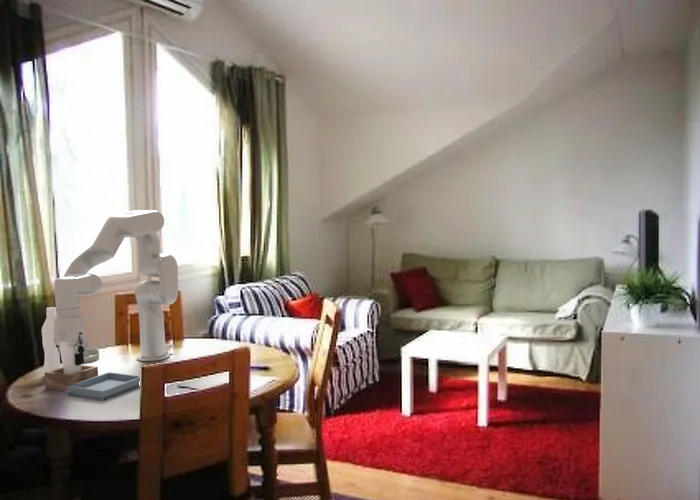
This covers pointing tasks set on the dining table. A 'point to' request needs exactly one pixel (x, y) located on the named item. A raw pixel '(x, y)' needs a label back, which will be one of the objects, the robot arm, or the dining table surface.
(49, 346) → the water bottle
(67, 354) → the drinking glass
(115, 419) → the dining table surface
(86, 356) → the wristwatch
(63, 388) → the frame
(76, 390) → the tray
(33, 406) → the dining table surface
